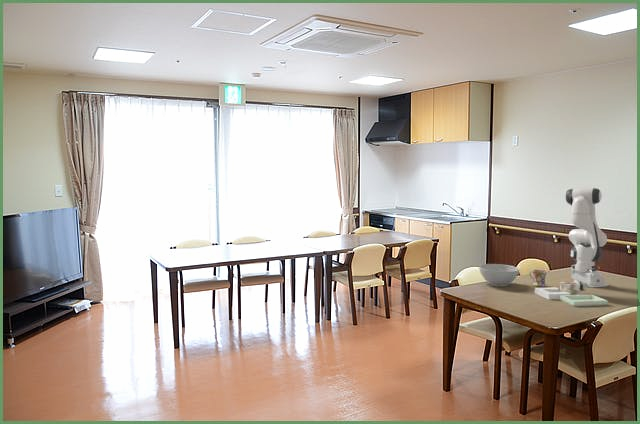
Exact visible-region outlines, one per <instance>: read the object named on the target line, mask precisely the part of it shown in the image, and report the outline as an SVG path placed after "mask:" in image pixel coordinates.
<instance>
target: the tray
mask: <svg viewBox="0 0 640 424" xmlns="http://www.w3.org/2000/svg"><path fill="white" fill-rule="evenodd" d="M559 301H561V302H563V303H566V304H568V305H570V306H572V307H594V306H595V307H596V306H597V307H599V306H608V300H607V299H604V298H602V297H599V296H597V295H594V294H580V295H561V296H560V299H559Z"/></svg>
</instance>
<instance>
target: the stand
mask: <svg viewBox="0 0 640 424" xmlns="http://www.w3.org/2000/svg"><path fill="white" fill-rule="evenodd" d="M534 294H535V295H538V296H539V297H542V298H544V299H546V300H548V301H549V300H550V301H551V300H560V296H561V295H571V293H568V292H560V288H558V287H554V286H552V287H534Z"/></svg>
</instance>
